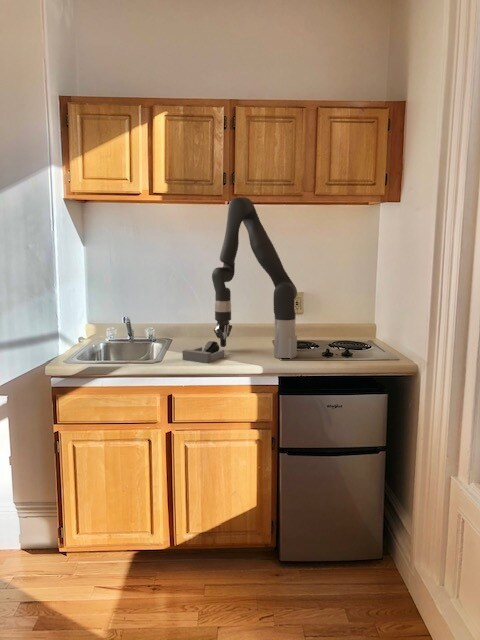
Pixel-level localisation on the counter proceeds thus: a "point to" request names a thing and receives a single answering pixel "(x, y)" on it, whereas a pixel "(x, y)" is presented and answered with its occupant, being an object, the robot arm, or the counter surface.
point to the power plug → (211, 347)
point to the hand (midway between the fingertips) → (223, 346)
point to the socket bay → (202, 355)
